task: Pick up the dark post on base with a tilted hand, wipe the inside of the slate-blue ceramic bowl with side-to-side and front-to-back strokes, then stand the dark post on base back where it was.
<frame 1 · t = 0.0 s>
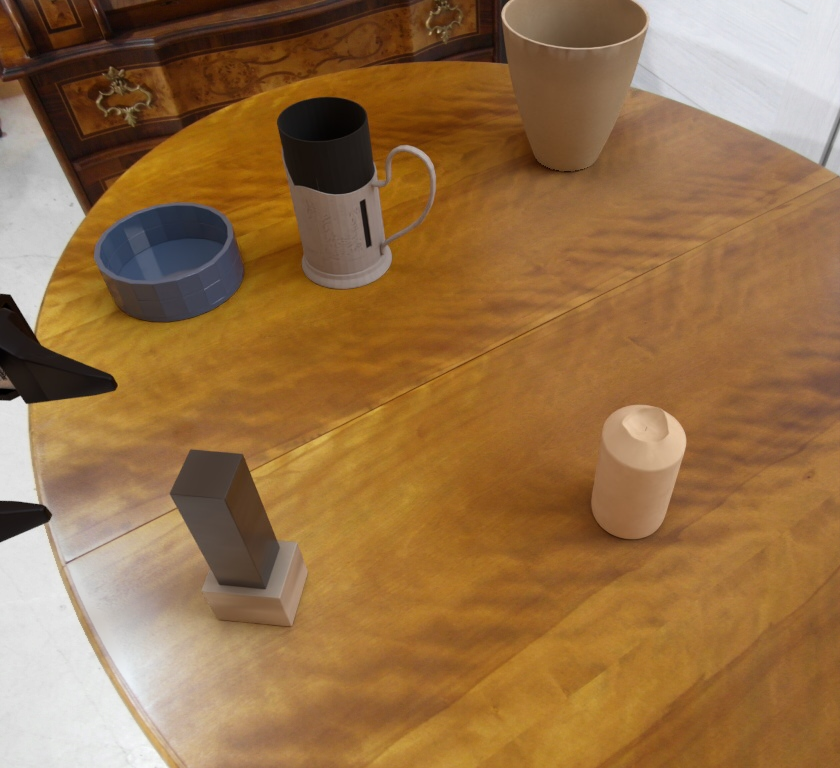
hand: (83, 443, 43), 14 cm above the table, tool horizontal, fingers open, 9 cm apart
glass holder: (373, 266, 76), on the table
candle: (627, 509, 57), on the table
dark post on base: (264, 595, 52), on the table
plant pot: (564, 156, 90), on the table
bowl: (179, 279, 74), on the table
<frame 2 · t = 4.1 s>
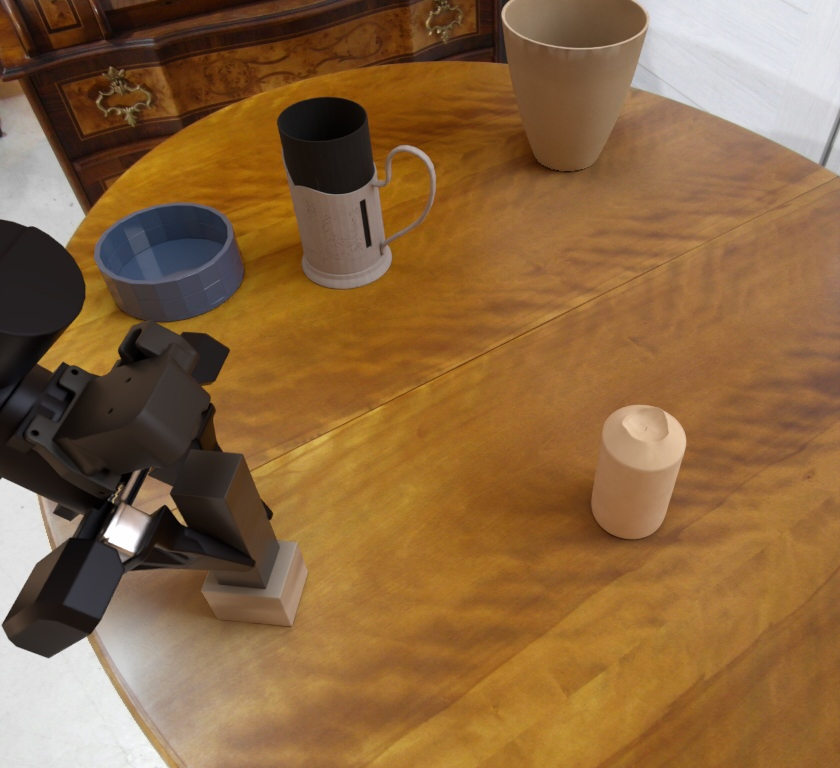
hand: (260, 542, 47), 7 cm above the table, tool tilted 45°, fingers closed on dark post on base, 3 cm apart
dark post on base: (264, 595, 52), on the table, touching gripper
everything else where it was.
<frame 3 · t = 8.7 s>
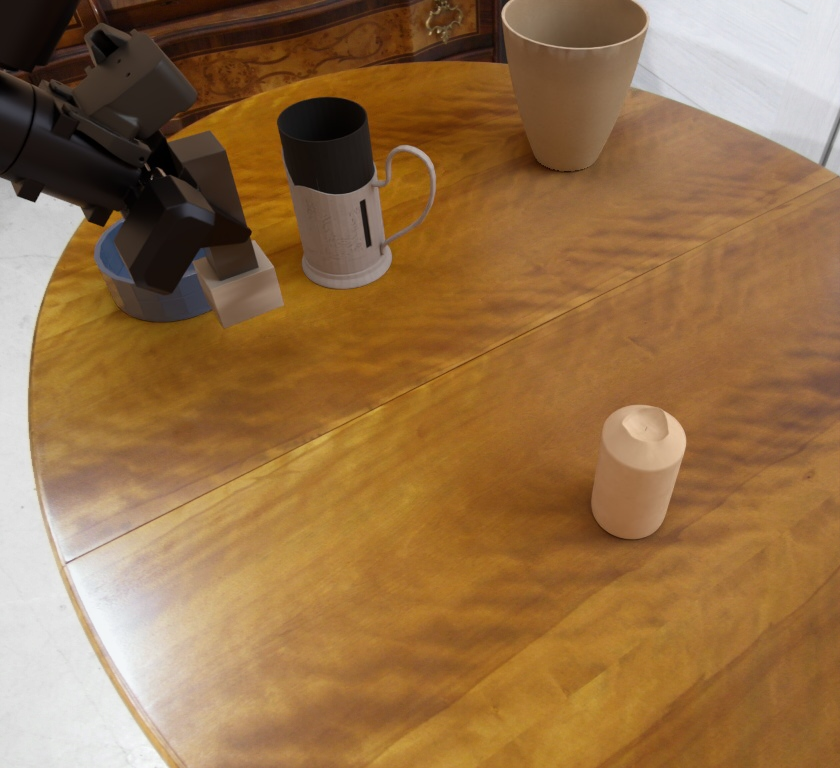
hand: (240, 224, 57), 14 cm above the table, tool tilted 45°, fingers closed on dark post on base, 3 cm apart
dark post on base: (245, 303, 62), point 6 cm above the table, touching gripper
everything else where it was.
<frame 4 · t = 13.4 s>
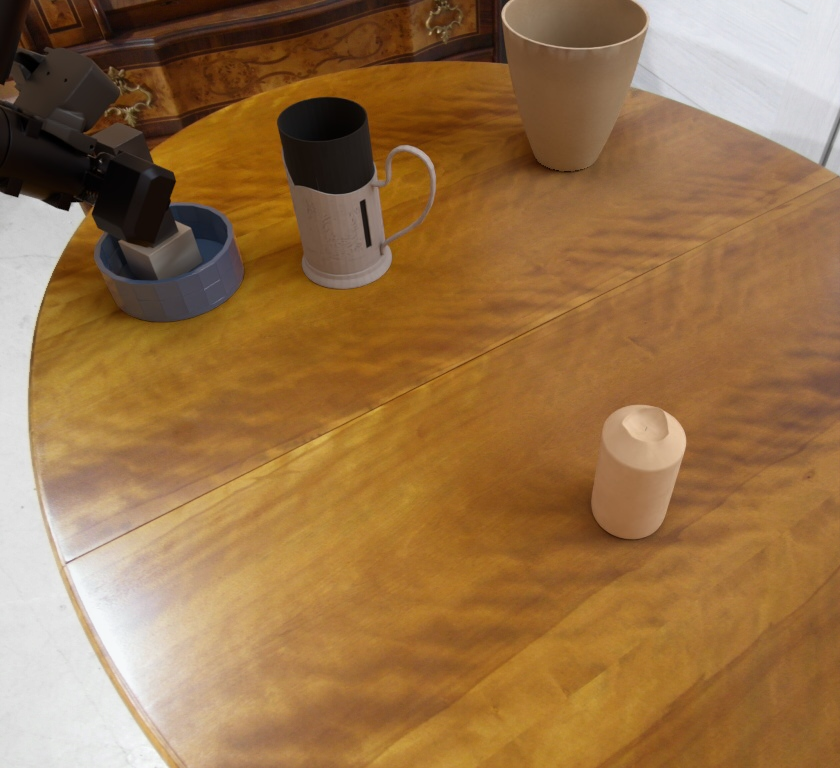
hand: (155, 198, 69), 8 cm above the table, tool tilted 45°, fingers closed on dark post on base, 3 cm apart
dark post on base: (168, 268, 74), point 1 cm above the table, touching gripper
everything else where it was.
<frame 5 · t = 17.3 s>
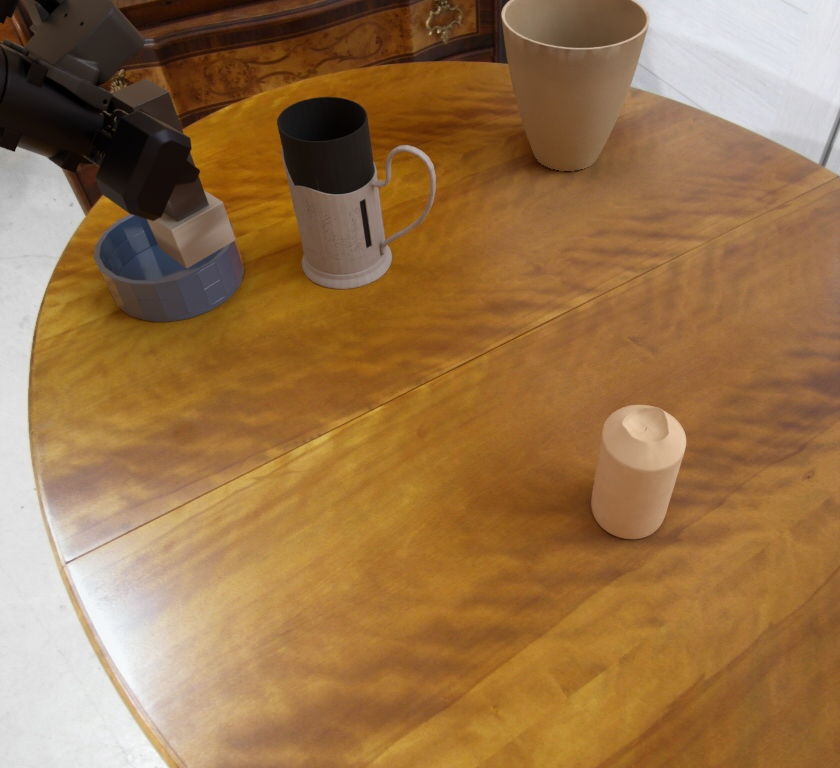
hand: (185, 168, 62), 14 cm above the table, tool tilted 45°, fingers closed on dark post on base, 3 cm apart
dark post on base: (198, 244, 67), point 6 cm above the table, touching gripper
everything else where it was.
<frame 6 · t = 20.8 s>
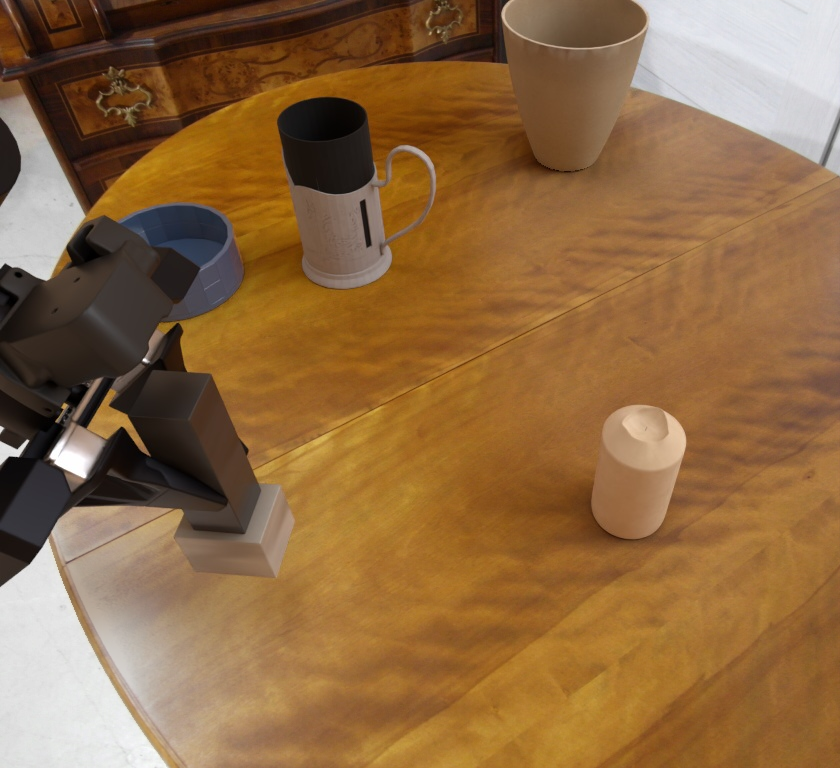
hand: (234, 481, 42), 13 cm above the table, tool tilted 45°, fingers closed on dark post on base, 3 cm apart
dark post on base: (246, 546, 47), point 6 cm above the table, touching gripper
everything else where it was.
when the fingers open (7 cm above the table, at t = 22.9 s): dark post on base stays where it is, on the table.
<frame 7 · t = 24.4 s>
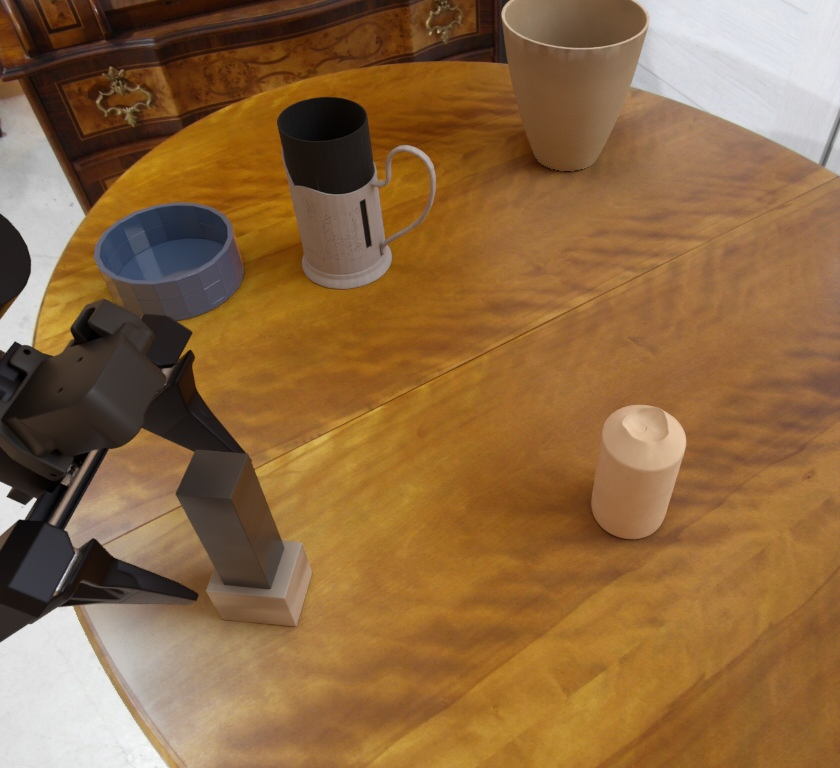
hand: (223, 528, 46), 8 cm above the table, tool tilted 45°, fingers open, 9 cm apart
dark post on base: (268, 595, 52), on the table
everything else where it was.
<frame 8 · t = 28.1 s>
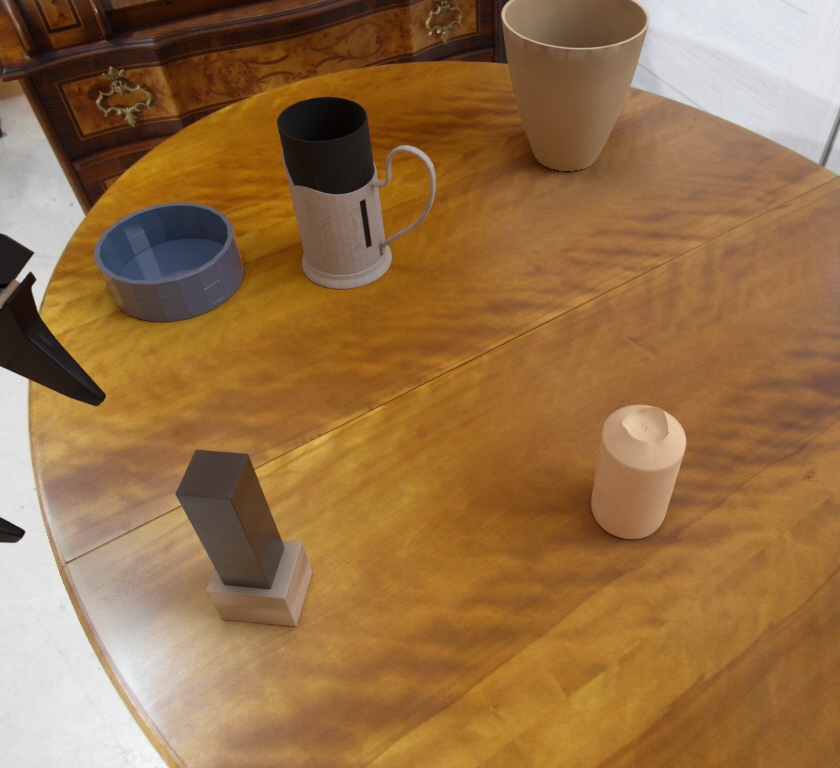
hand: (64, 464, 42), 14 cm above the table, tool tilted 45°, fingers open, 9 cm apart
nothing on the table moved.
at the end: dark post on base tilted 0°; the gripper is holding nothing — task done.
